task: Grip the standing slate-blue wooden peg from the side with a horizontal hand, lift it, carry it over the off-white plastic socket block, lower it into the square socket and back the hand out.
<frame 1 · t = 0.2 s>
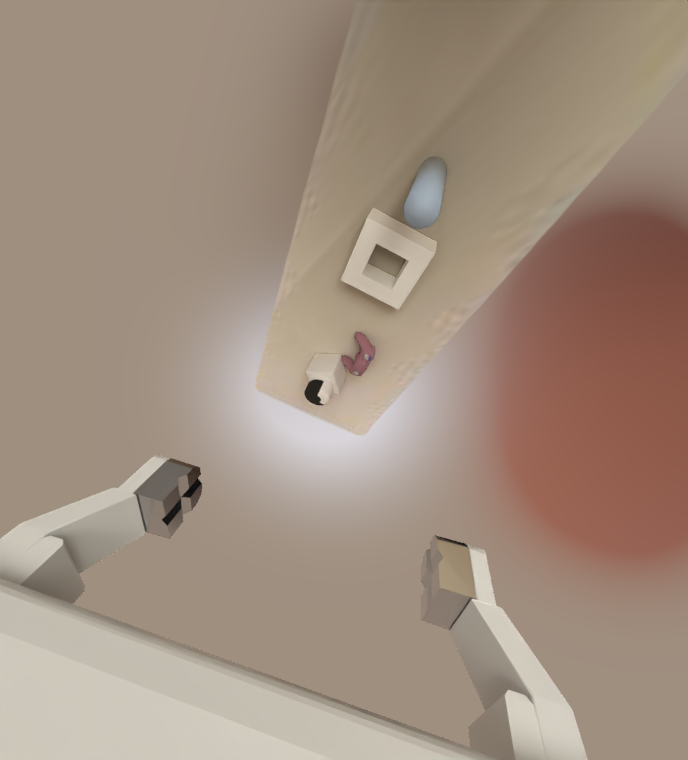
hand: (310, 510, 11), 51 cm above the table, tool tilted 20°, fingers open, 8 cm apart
medicine bottle: (331, 363, 80), on the table
socket block: (388, 256, 56), on the table
video game controller: (360, 348, 74), on the table
peg: (432, 173, 46), on the table
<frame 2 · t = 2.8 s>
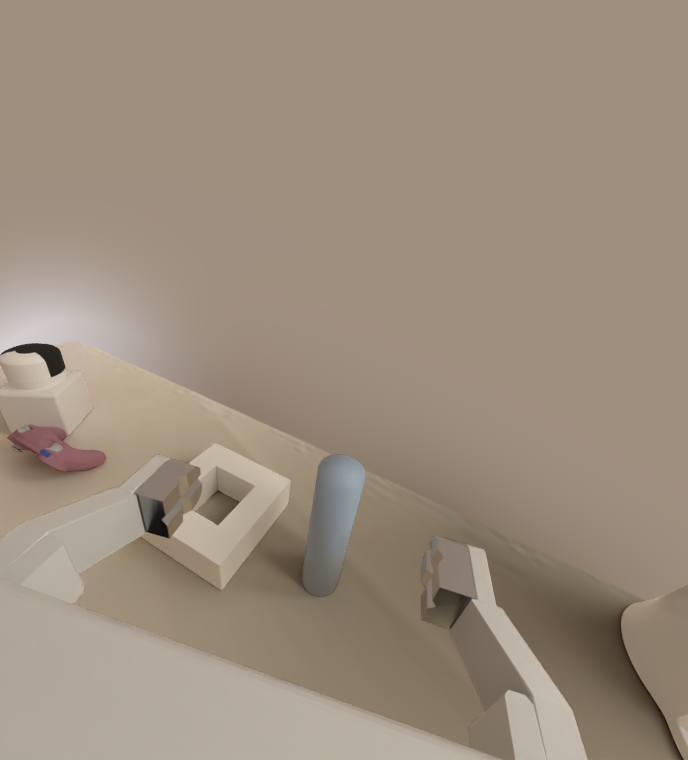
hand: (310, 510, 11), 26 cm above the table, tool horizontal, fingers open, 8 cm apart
medicine bottle: (56, 422, 48), on the table
socket block: (218, 517, 38), on the table
video game controller: (63, 462, 42), on the table
peg: (320, 576, 34), on the table
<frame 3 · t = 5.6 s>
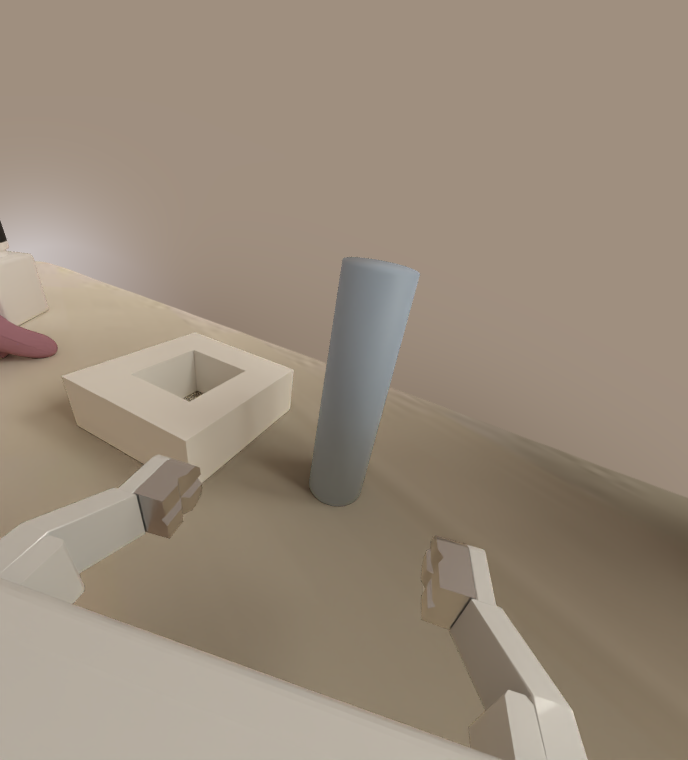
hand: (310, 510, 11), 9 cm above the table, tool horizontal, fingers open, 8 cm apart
socket block: (195, 416, 28), on the table
video game controller: (0, 352, 32), on the table
peg: (335, 483, 24), on the table
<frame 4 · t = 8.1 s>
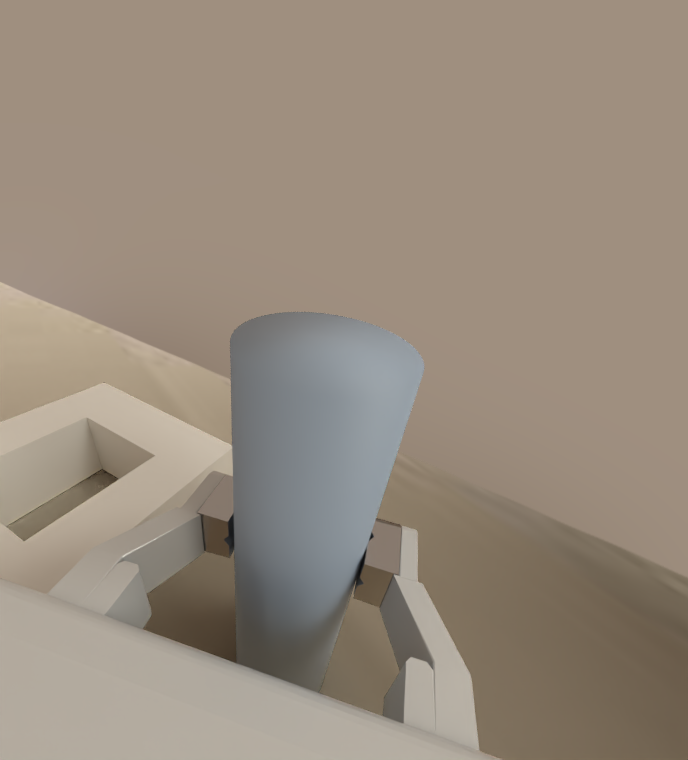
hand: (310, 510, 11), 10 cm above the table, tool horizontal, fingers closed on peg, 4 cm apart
socket block: (83, 521, 19), on the table
peg: (282, 661, 14), on the table, touching gripper
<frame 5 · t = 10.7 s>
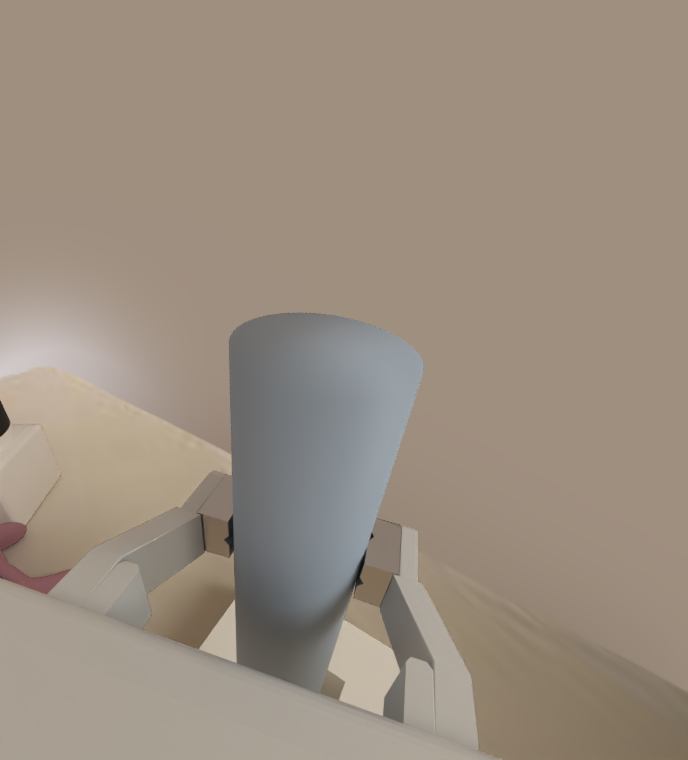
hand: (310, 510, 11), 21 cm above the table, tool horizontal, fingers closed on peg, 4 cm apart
medicine bottle: (0, 505, 30), on the table
socket block: (273, 735, 20), on the table
video game controller: (18, 587, 25), on the table
peg: (282, 662, 14), point 12 cm above the table, touching gripper
when the fingers open (11 cm above the table, at t = 13.3 s): peg drops 1 cm, resting in socket block.
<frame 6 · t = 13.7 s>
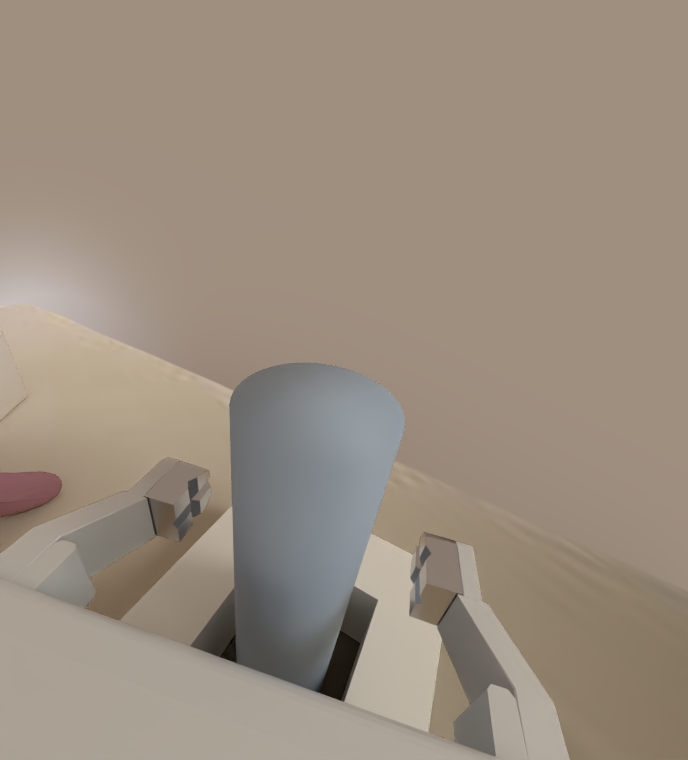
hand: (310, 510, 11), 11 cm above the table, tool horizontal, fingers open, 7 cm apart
socket block: (281, 674, 15), on the table
peg: (280, 675, 15), resting in socket block
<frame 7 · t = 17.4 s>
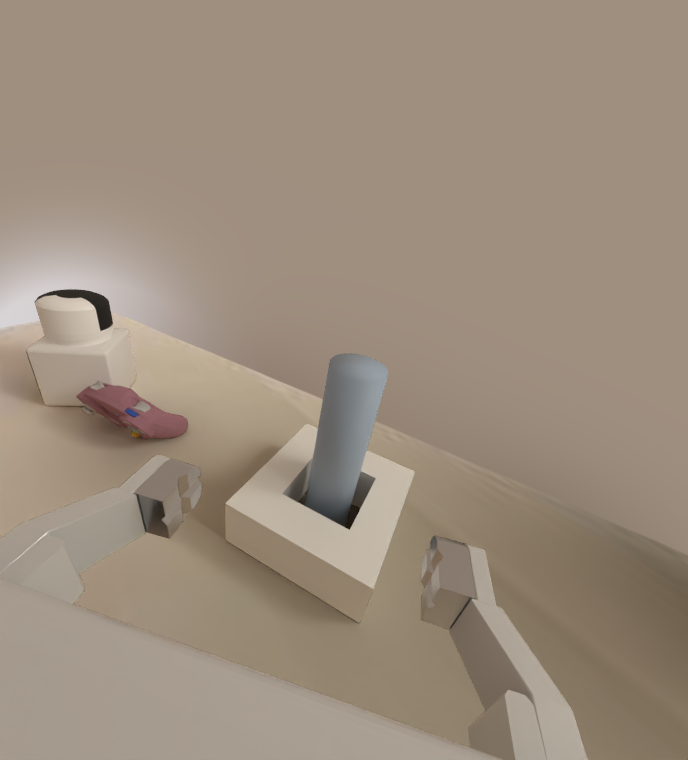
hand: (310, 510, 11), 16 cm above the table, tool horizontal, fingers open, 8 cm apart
medicine bottle: (95, 391, 39), on the table
socket block: (324, 519, 29), on the table
video game controller: (137, 430, 35), on the table
peg: (324, 519, 29), resting in socket block
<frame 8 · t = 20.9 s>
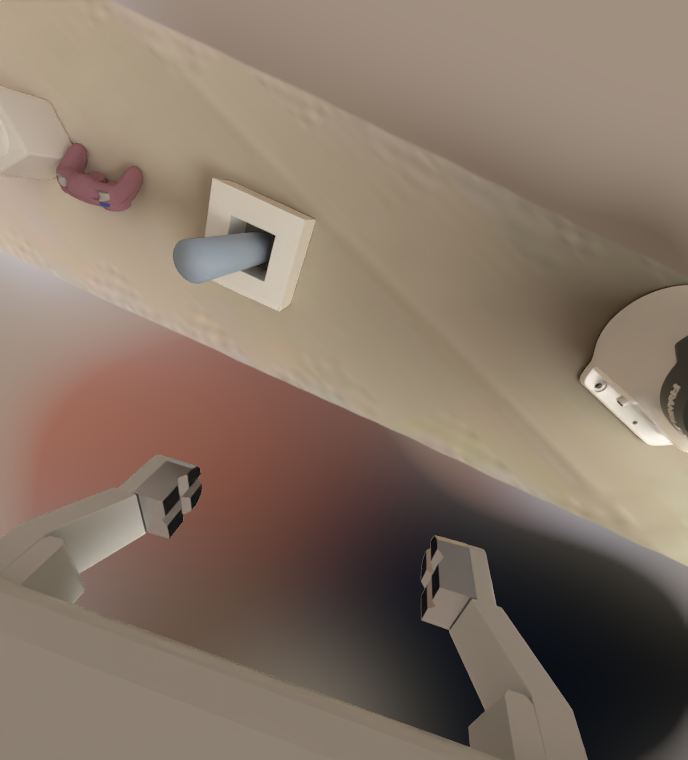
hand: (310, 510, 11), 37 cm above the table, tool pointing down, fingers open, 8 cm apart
medicine bottle: (51, 143, 44), on the table
socket block: (263, 246, 44), on the table
video game controller: (115, 180, 44), on the table
peg: (263, 246, 44), resting in socket block
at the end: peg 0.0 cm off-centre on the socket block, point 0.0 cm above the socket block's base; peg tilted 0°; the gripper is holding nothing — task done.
